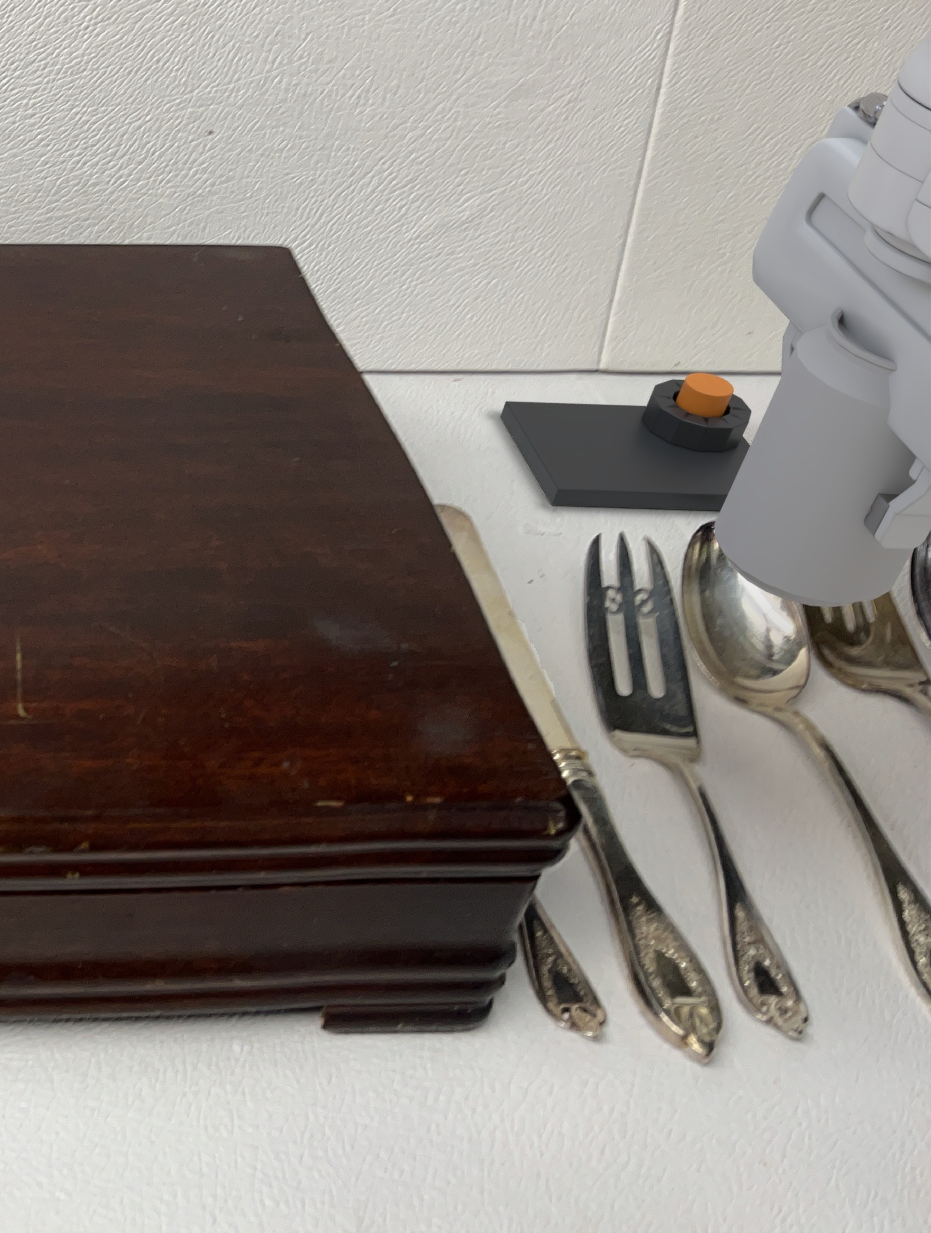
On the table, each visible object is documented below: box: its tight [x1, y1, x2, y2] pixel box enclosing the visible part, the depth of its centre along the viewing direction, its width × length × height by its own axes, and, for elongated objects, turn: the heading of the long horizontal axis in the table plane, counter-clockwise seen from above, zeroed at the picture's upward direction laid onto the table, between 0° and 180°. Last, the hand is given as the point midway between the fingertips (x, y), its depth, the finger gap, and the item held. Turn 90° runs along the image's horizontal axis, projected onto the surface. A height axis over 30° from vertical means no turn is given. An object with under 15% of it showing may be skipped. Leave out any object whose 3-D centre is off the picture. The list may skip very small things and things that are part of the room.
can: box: [714, 307, 916, 608], centre depth 68 cm, size 8×8×12 cm
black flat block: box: [500, 379, 752, 512], centre depth 98 cm, size 14×10×3 cm
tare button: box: [676, 372, 735, 418], centre depth 99 cm, size 3×3×2 cm
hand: (839, 479), depth 69 cm, fingers closed on can, 7 cm apart
